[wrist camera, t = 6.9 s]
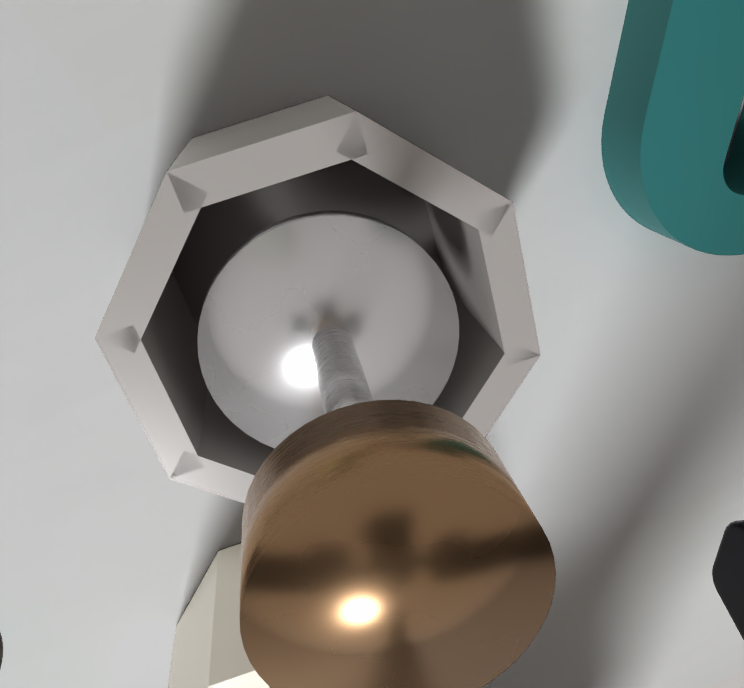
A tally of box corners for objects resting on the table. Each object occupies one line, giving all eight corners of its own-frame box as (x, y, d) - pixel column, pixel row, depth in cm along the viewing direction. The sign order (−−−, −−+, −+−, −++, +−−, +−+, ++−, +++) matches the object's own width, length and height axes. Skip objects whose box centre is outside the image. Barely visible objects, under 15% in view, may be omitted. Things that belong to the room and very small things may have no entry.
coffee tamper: (499, 281, 14) (731, 495, 7) (377, 475, 16) (473, 802, 9) (269, 160, 12) (288, 294, 5) (157, 393, 14) (62, 726, 7)
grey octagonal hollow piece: (564, 233, 19) (665, 290, 14) (414, 465, 22) (459, 578, 17) (234, 40, 16) (225, 35, 11) (101, 345, 18) (48, 445, 14)
